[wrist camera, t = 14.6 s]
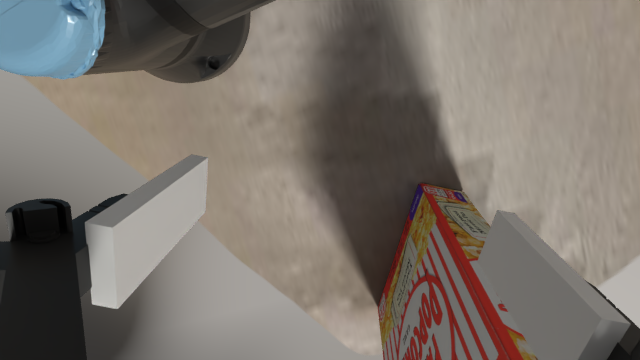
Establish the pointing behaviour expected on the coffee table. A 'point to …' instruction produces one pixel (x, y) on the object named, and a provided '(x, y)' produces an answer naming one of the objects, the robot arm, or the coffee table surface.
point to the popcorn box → (445, 288)
